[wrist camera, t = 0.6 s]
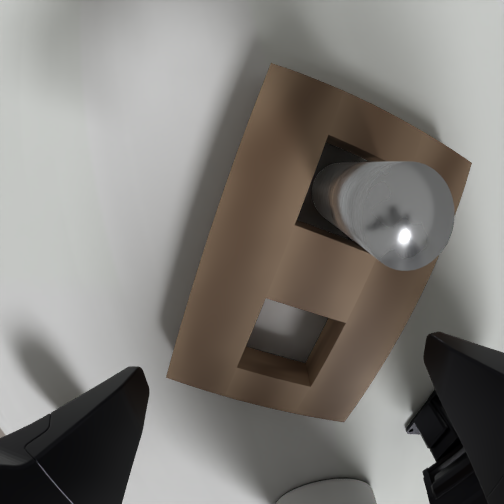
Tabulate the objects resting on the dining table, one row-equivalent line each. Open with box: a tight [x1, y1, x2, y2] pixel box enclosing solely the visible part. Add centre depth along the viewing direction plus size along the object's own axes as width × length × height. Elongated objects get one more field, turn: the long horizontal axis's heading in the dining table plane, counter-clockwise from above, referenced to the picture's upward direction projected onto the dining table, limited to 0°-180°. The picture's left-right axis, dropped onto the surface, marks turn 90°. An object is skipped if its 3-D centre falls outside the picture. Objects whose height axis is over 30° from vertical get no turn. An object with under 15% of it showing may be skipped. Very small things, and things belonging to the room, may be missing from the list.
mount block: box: [166, 63, 472, 422], centre depth 20 cm, size 14×21×3 cm, turn 160°
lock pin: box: [312, 161, 454, 271], centre depth 15 cm, size 4×4×10 cm
